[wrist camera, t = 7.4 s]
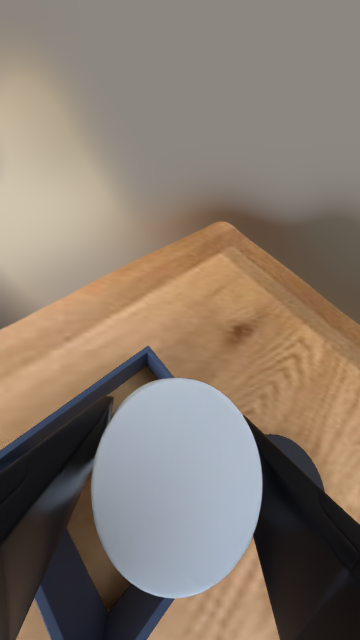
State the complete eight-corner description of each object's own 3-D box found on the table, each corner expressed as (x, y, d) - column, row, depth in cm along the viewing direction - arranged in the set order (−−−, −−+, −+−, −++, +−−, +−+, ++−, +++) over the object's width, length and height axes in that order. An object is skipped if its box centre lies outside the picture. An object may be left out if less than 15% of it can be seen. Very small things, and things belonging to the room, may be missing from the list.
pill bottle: (214, 441, 14) (321, 476, 6) (151, 513, 12) (165, 766, 3) (167, 380, 16) (192, 330, 7) (102, 432, 13) (23, 454, 5)
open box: (231, 466, 19) (255, 480, 15) (105, 628, 14) (86, 728, 9) (148, 359, 23) (148, 345, 19) (22, 453, 17) (-21, 464, 13)
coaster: (336, 489, 20) (341, 491, 19) (291, 583, 16) (296, 588, 16) (269, 415, 22) (272, 415, 22) (217, 483, 18) (219, 485, 18)
